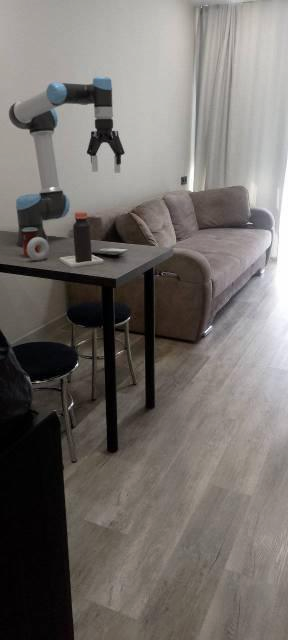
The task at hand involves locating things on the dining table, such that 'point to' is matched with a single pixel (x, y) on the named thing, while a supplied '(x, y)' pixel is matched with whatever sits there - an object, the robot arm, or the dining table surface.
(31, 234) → the soda can
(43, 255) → the donut
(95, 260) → the tray
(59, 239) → the dining table surface
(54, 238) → the dining table surface
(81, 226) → the vinegar
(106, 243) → the dining table surface
